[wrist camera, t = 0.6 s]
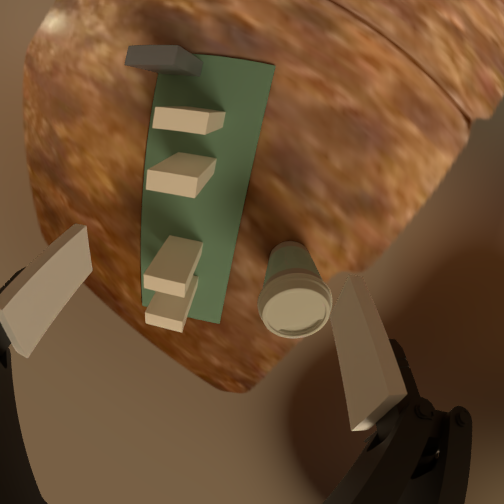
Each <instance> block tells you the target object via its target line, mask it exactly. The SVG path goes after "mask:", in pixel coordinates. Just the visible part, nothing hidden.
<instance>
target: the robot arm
mask: <svg viewBox="0 0 504 504" xmlns="http://www.w3.org/2000/svg"><path fill="white" fill-rule="evenodd" d="M91 272H92V264H91V258H90V251H89V244H88V236H87V227H86V226H85V225H80V224H74V225H73V226H72V227H71V228H69V229H68V230H67V231H66V232H65V233H63V234H62V235H61V236H60V237H59V238H57V239H56V240H55V241H54V242H53V243H52V244H51V245H49V246H48V247H47V248H46V249H45V250H44V251H43V252H42V253H41V254H40V255H39V256H37V257H36V258H35V259H34V260H33V261H32V262H31V263H30V264H29V265H28V266H27V267H25V268H23V269H21V270H19V271H18V272H16V273H15V274H14V275H13V276H12V277H11V278H10V280H8V281H7V282H6V283H5V286H3V287H2V288H1V289H0V504H47V502H45V501H44V499H43V498H42V496H41V494H40V491H39V489H38V486H37V484H36V481H35V478H34V475H33V473H32V469H31V466H30V463H29V460H28V456H27V453H26V449H25V446H24V442H23V438H22V434H21V429H20V424H19V420H18V414H17V409H16V402H15V396H14V388H13V380H12V368H11V353H10V349H9V348H8V347H9V345H10V344H12V345H13V347H14V349H15V350H16V352H18V353H19V354H21V355H23V356H24V357H26V358H28V357H29V356H30V354H31V352H32V351H33V349H34V348H35V346H36V345H37V343H38V342H39V340H40V339H41V337H42V336H43V334H44V333H45V331H46V330H47V329H48V327H49V326H50V324H51V323H52V322H53V320H54V319H55V318H56V316H57V315H58V314H59V312H60V311H61V309H62V308H63V307H64V305H65V304H66V303H67V302H68V300H69V299H70V298H71V296H72V295H73V294H74V293H75V291H76V290H77V289H78V288H79V286H80V285H81V283H83V281H84V280H85V279H86V278H87V276H88V275H89V274H90V273H91ZM330 320H331V324H332V329H333V333H334V339H335V343H336V348H337V353H338V358H339V363H340V368H341V373H342V379H343V384H344V389H345V395H346V401H347V407H348V413H349V420H350V426H351V431H357V430H368V429H370V428H371V427H372V426H373V425H374V424H376V426H377V431H375V432H374V433H373V434H372V435H370V436H369V437H368V438H367V439H366V440H365V441H364V442H367V441H369V442H368V443H367V445H366V446H365V448H364V450H363V451H362V453H361V454H360V455H359V457H358V459H357V460H356V461H355V463H354V464H353V466H352V467H351V468H350V470H349V471H348V473H347V474H346V475H345V477H344V478H343V479H342V480H341V482H340V483H339V484H338V486H337V487H336V488H335V489H334V491H333V492H332V493H331V494H330V495H329V497H328V498H327V499H326V500H325V501H324V503H323V504H464V502H465V497H466V491H467V485H468V478H469V470H470V459H471V445H472V419H471V416H470V413H469V412H468V411H467V410H466V409H465V408H464V407H461V406H457V407H454V408H453V409H452V410H451V411H450V412H448V413H447V412H442V411H438V410H435V408H434V407H433V405H432V403H431V402H429V401H428V400H427V399H425V398H423V397H420V395H419V392H418V389H417V386H416V383H415V380H414V377H413V375H412V372H411V369H410V368H409V364H408V361H407V360H406V356H405V353H404V351H403V348H402V347H401V346H400V345H399V343H398V342H397V341H396V340H395V339H388V337H387V334H386V331H385V329H384V326H383V324H382V321H381V319H380V316H379V314H378V312H377V309H376V307H375V304H374V302H373V300H372V297H371V295H370V293H369V290H368V288H367V286H366V283H365V281H364V279H363V277H360V276H355V275H348V277H347V280H346V282H345V284H344V286H343V289H342V291H341V293H340V295H339V298H338V300H337V302H336V304H335V306H334V308H333V311H332V312H331V315H330ZM438 452H439V456H438Z"/></svg>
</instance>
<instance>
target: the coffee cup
mask: <svg viewBox="0 0 504 504" xmlns="http://www.w3.org/2000/svg"><path fill="white" fill-rule="evenodd" d="M331 308H332V294H331V291H330V289H329V287H328V286H327V285H326V283H325V282H323V280H322V278H321V276H320V274H319V272H318V270H317V268H316V266H315V264H314V262H313V260H312V258H311V256H310V254H309V252H308V250H307V249H306V247H305V246H303V245H302V244H300V243H298V242H294V241H286V242H282V243H280V244H278V245H277V246H276V247H275V248H274V249H273V250H272V251H271V254H270V257H269V262H268V266H267V271H266V276H265V280H264V285H263V289H262V291H261V293H260V295H259V297H258V310H259V314H260V317H261V319H262V320H263V322H264V324H265V326H266V327H267V328H268V329H269V330H270V331H271V332H272V333H274V334H276V335H278V336H281V337H285V338H302V337H306V336H309V335H311V334H313V333H315V332H317V331H318V330H320V329H321V328H322V327H323V326H324V325H325V324H326V322H327V320H328V318H329V315H330V311H331Z"/></svg>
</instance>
